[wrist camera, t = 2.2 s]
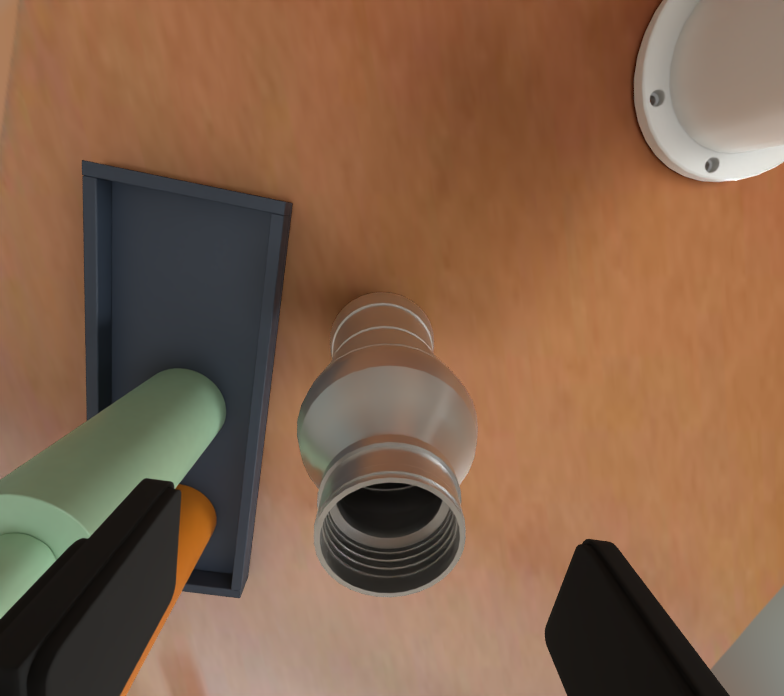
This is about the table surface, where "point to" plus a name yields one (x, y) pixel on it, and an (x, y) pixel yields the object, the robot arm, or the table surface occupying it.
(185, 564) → the amber bottle
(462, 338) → the table surface
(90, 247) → the tray
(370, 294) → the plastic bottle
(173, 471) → the sage bottle
